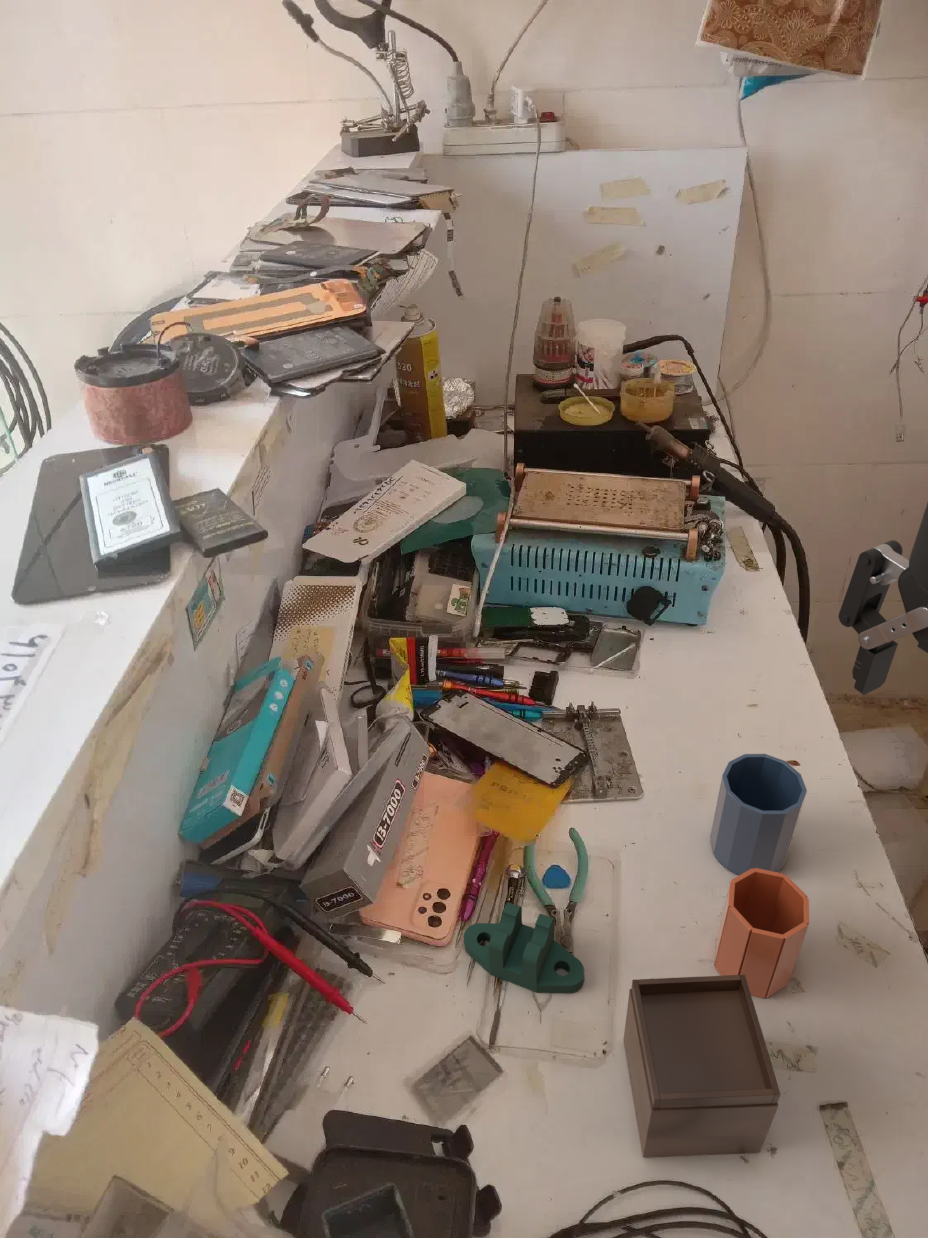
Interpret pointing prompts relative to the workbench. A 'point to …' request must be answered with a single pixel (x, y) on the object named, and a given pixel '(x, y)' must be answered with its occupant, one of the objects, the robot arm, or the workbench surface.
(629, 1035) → the box
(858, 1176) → the workbench surface
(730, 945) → the terracotta cup
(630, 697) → the workbench surface
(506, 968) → the mount
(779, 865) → the slate cup
